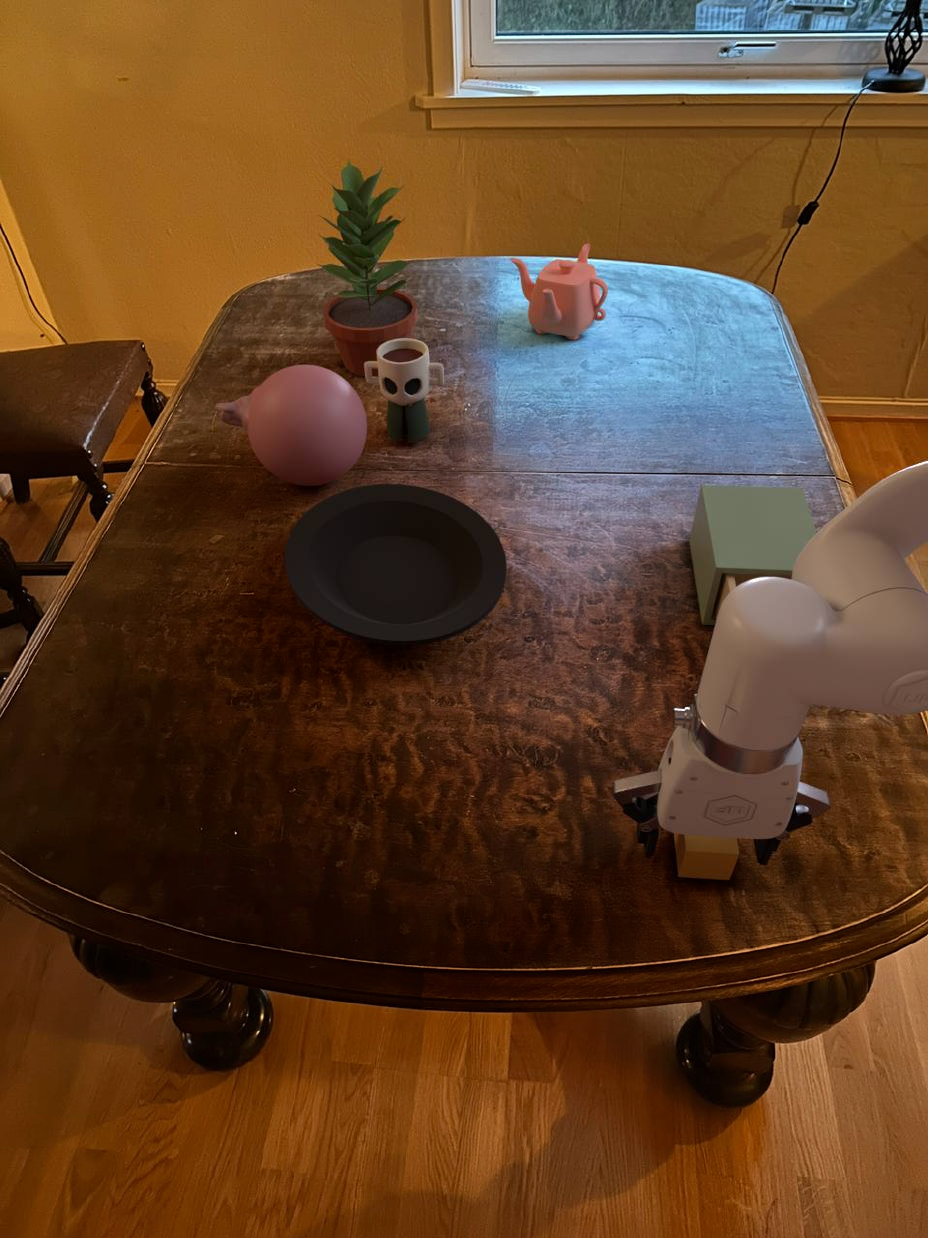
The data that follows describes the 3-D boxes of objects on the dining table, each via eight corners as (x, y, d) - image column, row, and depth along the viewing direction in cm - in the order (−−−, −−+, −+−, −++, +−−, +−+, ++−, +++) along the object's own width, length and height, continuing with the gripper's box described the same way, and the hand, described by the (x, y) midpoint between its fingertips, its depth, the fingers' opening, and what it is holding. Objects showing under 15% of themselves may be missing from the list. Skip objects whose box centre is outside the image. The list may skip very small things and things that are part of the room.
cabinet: (808, 629, 98) (829, 571, 92) (702, 625, 99) (715, 567, 93) (785, 544, 108) (802, 487, 102) (689, 540, 109) (700, 484, 103)
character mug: (367, 446, 125) (357, 362, 116) (375, 418, 130) (366, 336, 121) (443, 449, 124) (440, 364, 115) (449, 421, 129) (445, 338, 120)
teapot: (541, 354, 143) (544, 287, 135) (508, 316, 152) (508, 252, 144) (622, 337, 146) (629, 271, 138) (584, 301, 155) (589, 238, 148)
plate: (551, 622, 99) (553, 585, 95) (362, 712, 91) (357, 676, 87) (425, 496, 116) (423, 460, 112) (256, 562, 108) (248, 526, 104)
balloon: (254, 433, 128) (231, 334, 117) (386, 449, 124) (376, 348, 113) (208, 497, 117) (179, 394, 106) (351, 516, 114) (337, 411, 103)
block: (723, 835, 80) (732, 808, 77) (729, 880, 77) (739, 854, 74) (673, 833, 80) (681, 806, 77) (678, 877, 77) (686, 850, 74)
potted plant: (345, 334, 149) (321, 139, 127) (431, 344, 146) (421, 146, 124) (311, 378, 139) (279, 175, 117) (403, 390, 135) (387, 183, 114)
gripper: (627, 760, 63) (604, 879, 75) (876, 774, 62) (812, 893, 74) (622, 681, 68) (602, 804, 81) (852, 692, 67) (796, 816, 79)
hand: (703, 846), depth 77 cm, fingers open, 9 cm apart
